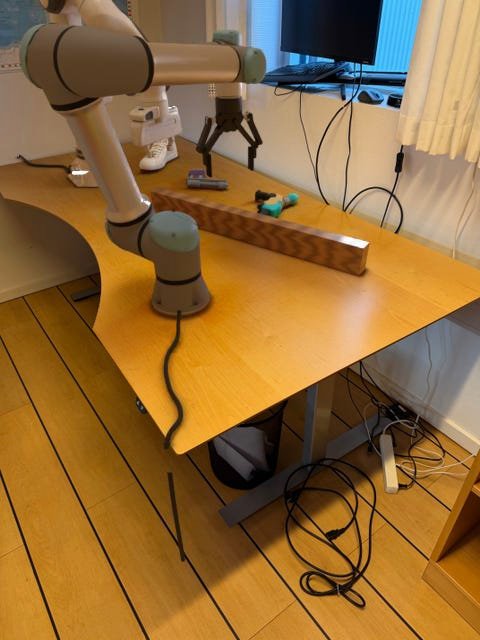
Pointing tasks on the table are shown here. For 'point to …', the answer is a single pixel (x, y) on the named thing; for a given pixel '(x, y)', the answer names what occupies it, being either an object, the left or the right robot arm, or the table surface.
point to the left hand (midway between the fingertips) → (160, 154)
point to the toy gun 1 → (204, 180)
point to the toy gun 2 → (273, 202)
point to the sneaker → (159, 156)
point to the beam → (268, 231)
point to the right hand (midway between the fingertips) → (230, 172)
